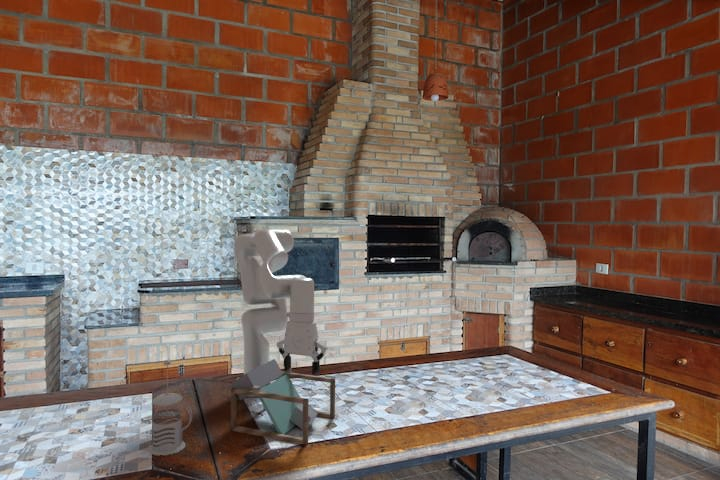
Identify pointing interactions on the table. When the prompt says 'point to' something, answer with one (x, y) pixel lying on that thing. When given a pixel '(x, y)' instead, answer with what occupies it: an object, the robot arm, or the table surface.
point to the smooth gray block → (298, 415)
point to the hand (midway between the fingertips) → (301, 371)
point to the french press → (174, 439)
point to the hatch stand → (303, 401)
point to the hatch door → (281, 386)
